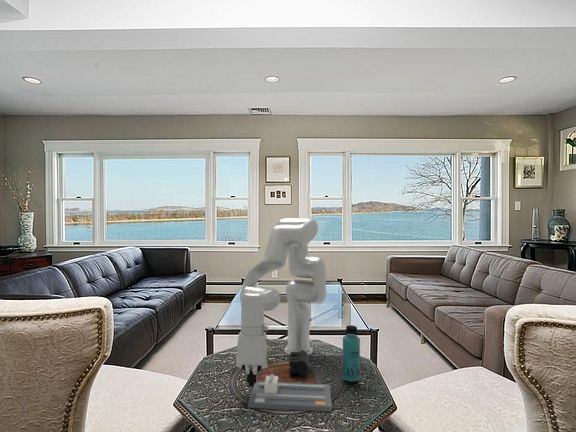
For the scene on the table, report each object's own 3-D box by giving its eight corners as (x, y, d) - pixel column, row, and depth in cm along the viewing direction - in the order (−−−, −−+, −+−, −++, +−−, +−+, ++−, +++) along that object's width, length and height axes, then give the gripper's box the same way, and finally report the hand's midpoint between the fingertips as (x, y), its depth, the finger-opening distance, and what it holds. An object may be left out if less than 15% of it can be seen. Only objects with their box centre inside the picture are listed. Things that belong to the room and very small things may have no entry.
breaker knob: (266, 387, 117) (266, 373, 117) (278, 387, 117) (278, 374, 117) (264, 395, 112) (264, 380, 112) (276, 395, 112) (276, 381, 112)
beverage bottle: (337, 380, 126) (338, 326, 126) (349, 375, 130) (350, 322, 130) (352, 387, 121) (352, 330, 121) (363, 382, 125) (364, 326, 125)
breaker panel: (255, 385, 122) (255, 378, 122) (329, 388, 120) (329, 381, 120) (248, 407, 108) (248, 399, 108) (331, 411, 106) (332, 403, 106)
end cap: (308, 378, 127) (308, 360, 127) (288, 377, 128) (289, 359, 128) (308, 367, 137) (308, 350, 137) (290, 366, 138) (290, 349, 138)
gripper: (275, 326, 118) (275, 380, 118) (232, 325, 119) (232, 378, 119) (273, 334, 110) (272, 391, 110) (227, 332, 111) (226, 389, 111)
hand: (251, 384), depth 115 cm, fingers closed
